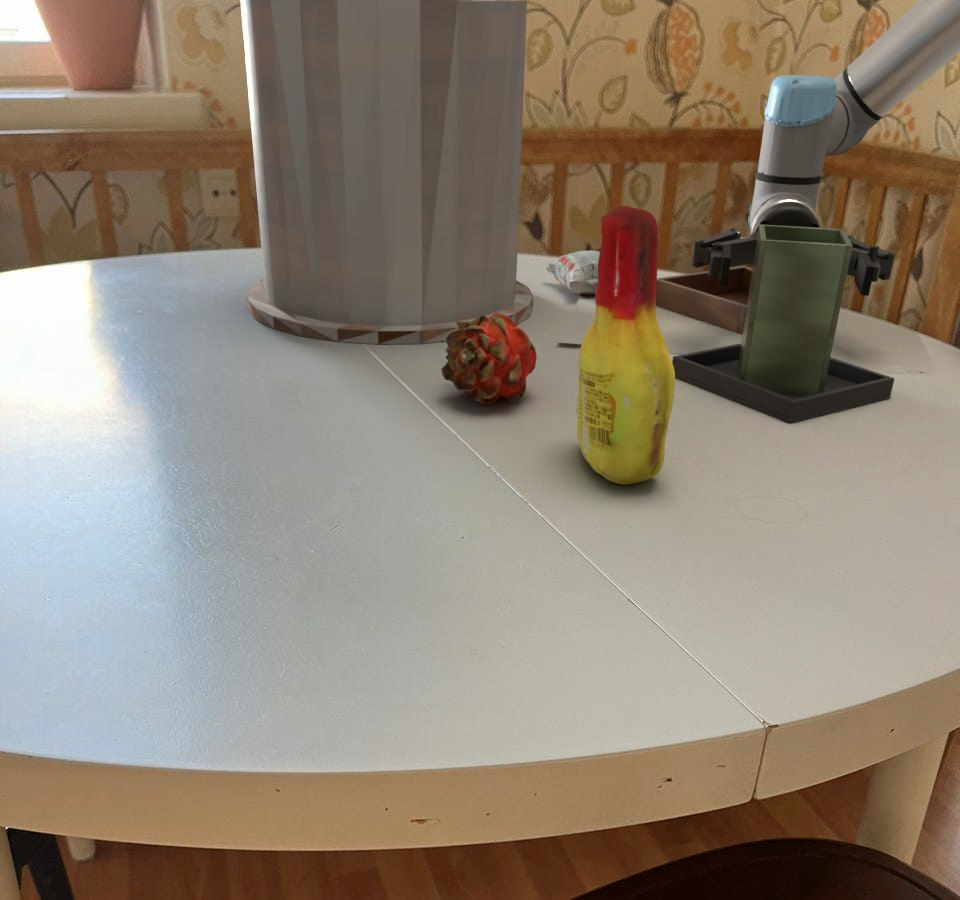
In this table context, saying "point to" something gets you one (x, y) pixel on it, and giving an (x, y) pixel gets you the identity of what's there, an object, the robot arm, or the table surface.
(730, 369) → the tray
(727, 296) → the brown wooden tray
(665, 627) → the table surface
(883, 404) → the table surface
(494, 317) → the dragon fruit
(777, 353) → the tall basket
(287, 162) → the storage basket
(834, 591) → the table surface
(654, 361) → the bottle
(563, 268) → the packaged food
